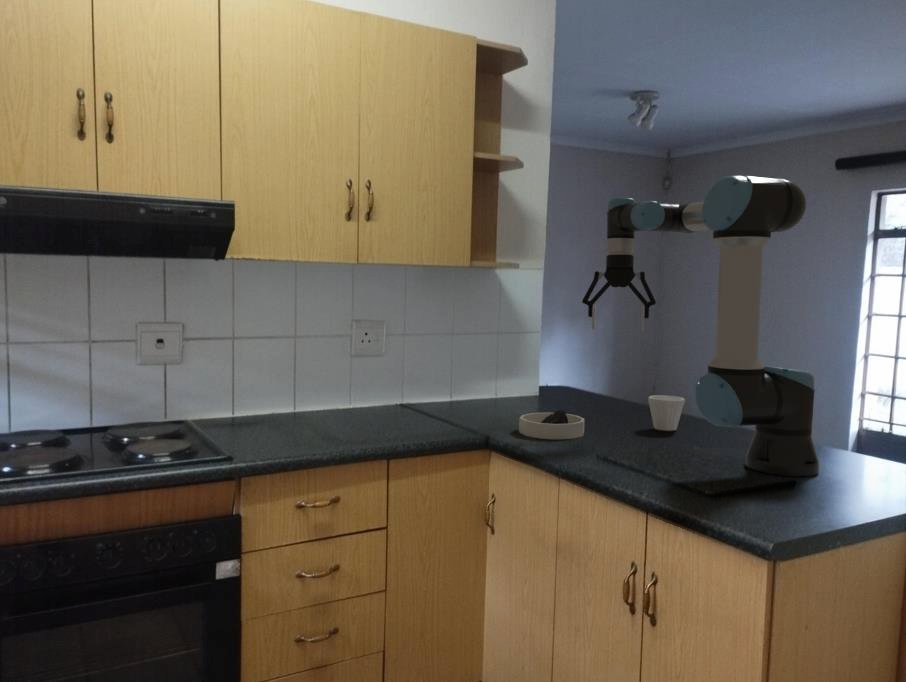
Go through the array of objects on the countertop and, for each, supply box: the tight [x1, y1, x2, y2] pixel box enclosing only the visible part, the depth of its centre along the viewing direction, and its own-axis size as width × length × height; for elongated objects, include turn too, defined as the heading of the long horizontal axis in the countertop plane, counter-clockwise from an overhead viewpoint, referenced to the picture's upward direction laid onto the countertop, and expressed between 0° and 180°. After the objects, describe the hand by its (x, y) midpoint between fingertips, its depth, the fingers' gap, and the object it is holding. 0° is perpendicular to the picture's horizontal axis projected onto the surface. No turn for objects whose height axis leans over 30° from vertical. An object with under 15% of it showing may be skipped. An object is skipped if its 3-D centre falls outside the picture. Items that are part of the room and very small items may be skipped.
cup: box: [647, 394, 685, 433], centre depth 204 cm, size 10×10×9 cm
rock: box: [542, 409, 568, 424], centre depth 197 cm, size 7×10×6 cm
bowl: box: [518, 411, 585, 440], centre depth 199 cm, size 18×18×4 cm
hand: (617, 329), depth 202 cm, fingers open, 13 cm apart
